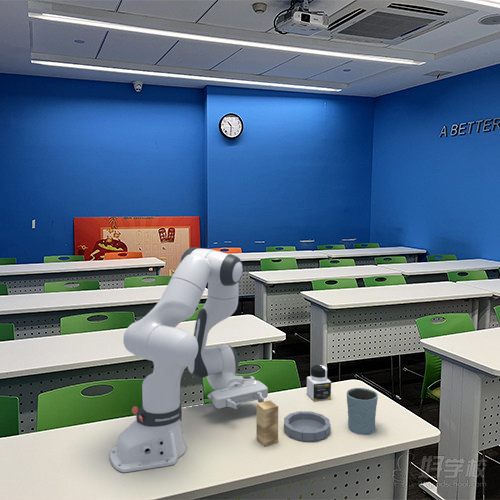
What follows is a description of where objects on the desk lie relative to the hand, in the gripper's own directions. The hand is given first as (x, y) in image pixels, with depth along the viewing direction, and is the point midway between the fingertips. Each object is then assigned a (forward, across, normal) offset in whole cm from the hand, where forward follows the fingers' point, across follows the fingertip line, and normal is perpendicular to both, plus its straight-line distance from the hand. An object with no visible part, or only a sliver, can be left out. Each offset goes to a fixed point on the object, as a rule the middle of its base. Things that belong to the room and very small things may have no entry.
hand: (249, 403), depth 165 cm
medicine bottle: (-8, +34, +8) cm, 35 cm away
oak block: (+12, 0, +7) cm, 14 cm away
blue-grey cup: (+19, +32, +8) cm, 38 cm away
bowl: (+12, +15, +8) cm, 21 cm away
